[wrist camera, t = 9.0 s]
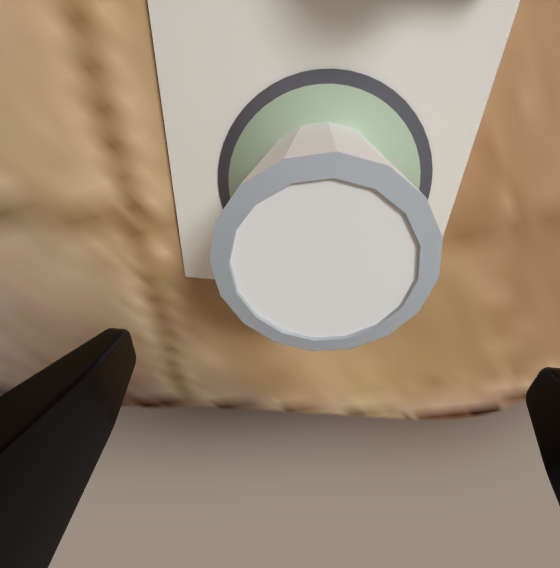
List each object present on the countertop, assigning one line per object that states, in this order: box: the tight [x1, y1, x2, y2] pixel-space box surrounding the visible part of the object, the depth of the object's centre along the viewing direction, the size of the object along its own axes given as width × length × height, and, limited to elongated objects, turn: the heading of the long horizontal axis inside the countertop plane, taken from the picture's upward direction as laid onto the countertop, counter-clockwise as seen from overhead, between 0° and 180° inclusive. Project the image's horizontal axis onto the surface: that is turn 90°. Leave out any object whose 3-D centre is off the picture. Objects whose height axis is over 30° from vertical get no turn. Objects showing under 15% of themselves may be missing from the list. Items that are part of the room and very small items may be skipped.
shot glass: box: [209, 122, 443, 351], centre depth 14 cm, size 7×7×7 cm
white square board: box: [147, 0, 520, 279], centre depth 16 cm, size 13×13×1 cm
